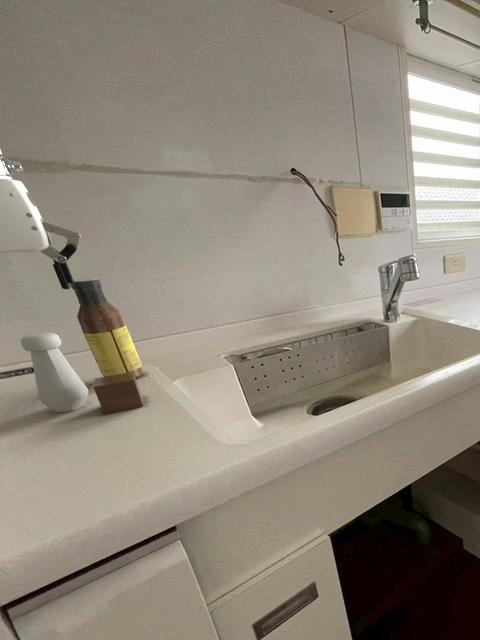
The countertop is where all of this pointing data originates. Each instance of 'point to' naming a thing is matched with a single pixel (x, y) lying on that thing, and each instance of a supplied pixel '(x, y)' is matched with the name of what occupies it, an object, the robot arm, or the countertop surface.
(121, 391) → the walnut block
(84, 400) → the salt shaker
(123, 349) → the sauce bottle
